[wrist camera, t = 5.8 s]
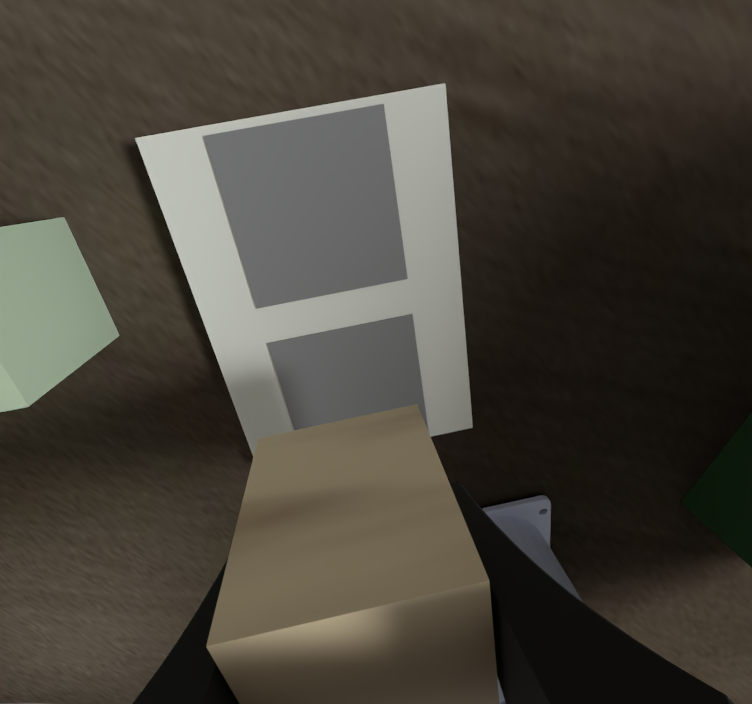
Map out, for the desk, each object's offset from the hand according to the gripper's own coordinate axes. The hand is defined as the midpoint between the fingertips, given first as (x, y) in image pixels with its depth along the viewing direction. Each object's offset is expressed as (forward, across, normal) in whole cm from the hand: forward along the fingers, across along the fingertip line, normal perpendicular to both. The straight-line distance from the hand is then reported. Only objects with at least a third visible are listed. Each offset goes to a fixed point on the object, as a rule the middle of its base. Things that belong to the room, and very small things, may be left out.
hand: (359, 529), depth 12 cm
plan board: (+9, 0, -4) cm, 10 cm away
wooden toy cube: (+2, 0, 0) cm, 2 cm away
